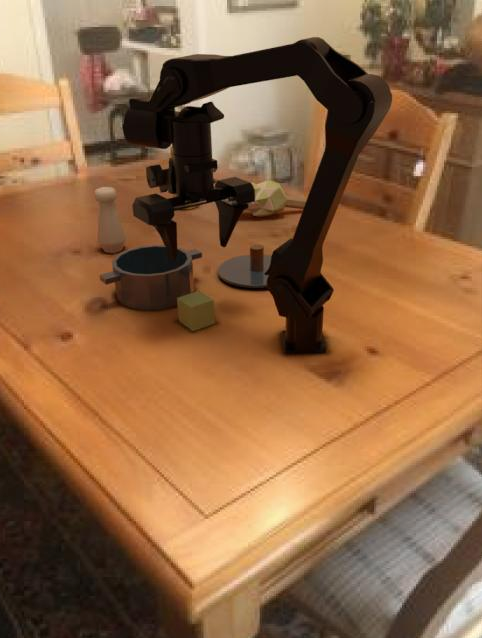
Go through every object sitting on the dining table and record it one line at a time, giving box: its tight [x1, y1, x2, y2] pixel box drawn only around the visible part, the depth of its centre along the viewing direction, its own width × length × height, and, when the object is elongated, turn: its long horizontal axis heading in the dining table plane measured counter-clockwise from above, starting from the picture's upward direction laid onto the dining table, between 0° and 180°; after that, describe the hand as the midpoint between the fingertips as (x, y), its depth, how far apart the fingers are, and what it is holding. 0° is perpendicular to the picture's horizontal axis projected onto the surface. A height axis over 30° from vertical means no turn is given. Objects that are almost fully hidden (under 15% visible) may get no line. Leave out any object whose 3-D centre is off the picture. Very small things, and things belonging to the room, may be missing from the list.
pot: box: [99, 244, 203, 311], centre depth 112 cm, size 14×19×6 cm
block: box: [177, 290, 216, 332], centre depth 103 cm, size 4×4×4 cm
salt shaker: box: [94, 186, 126, 254], centre depth 128 cm, size 6×6×13 cm
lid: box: [217, 243, 272, 289], centre depth 118 cm, size 15×15×6 cm
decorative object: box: [244, 179, 308, 218], centre depth 147 cm, size 9×10×25 cm
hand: (199, 253), depth 99 cm, fingers open, 9 cm apart
